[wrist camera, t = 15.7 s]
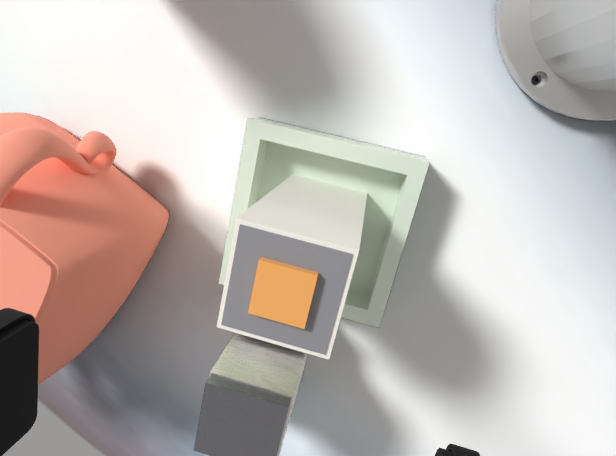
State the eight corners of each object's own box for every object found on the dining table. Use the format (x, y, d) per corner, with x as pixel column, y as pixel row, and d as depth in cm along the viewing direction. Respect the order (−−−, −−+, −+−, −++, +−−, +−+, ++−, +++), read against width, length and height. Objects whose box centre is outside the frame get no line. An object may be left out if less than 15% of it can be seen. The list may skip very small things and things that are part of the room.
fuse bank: (321, 302, 32) (296, 383, 22) (278, 470, 36) (243, 595, 27) (258, 284, 32) (208, 357, 23) (223, 453, 37) (170, 570, 27)
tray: (424, 156, 28) (429, 162, 25) (379, 307, 31) (379, 328, 28) (260, 117, 29) (247, 118, 26) (233, 267, 32) (218, 283, 29)
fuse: (367, 192, 28) (358, 254, 16) (348, 262, 30) (327, 365, 18) (293, 173, 29) (233, 220, 17) (278, 244, 30) (212, 331, 18)
